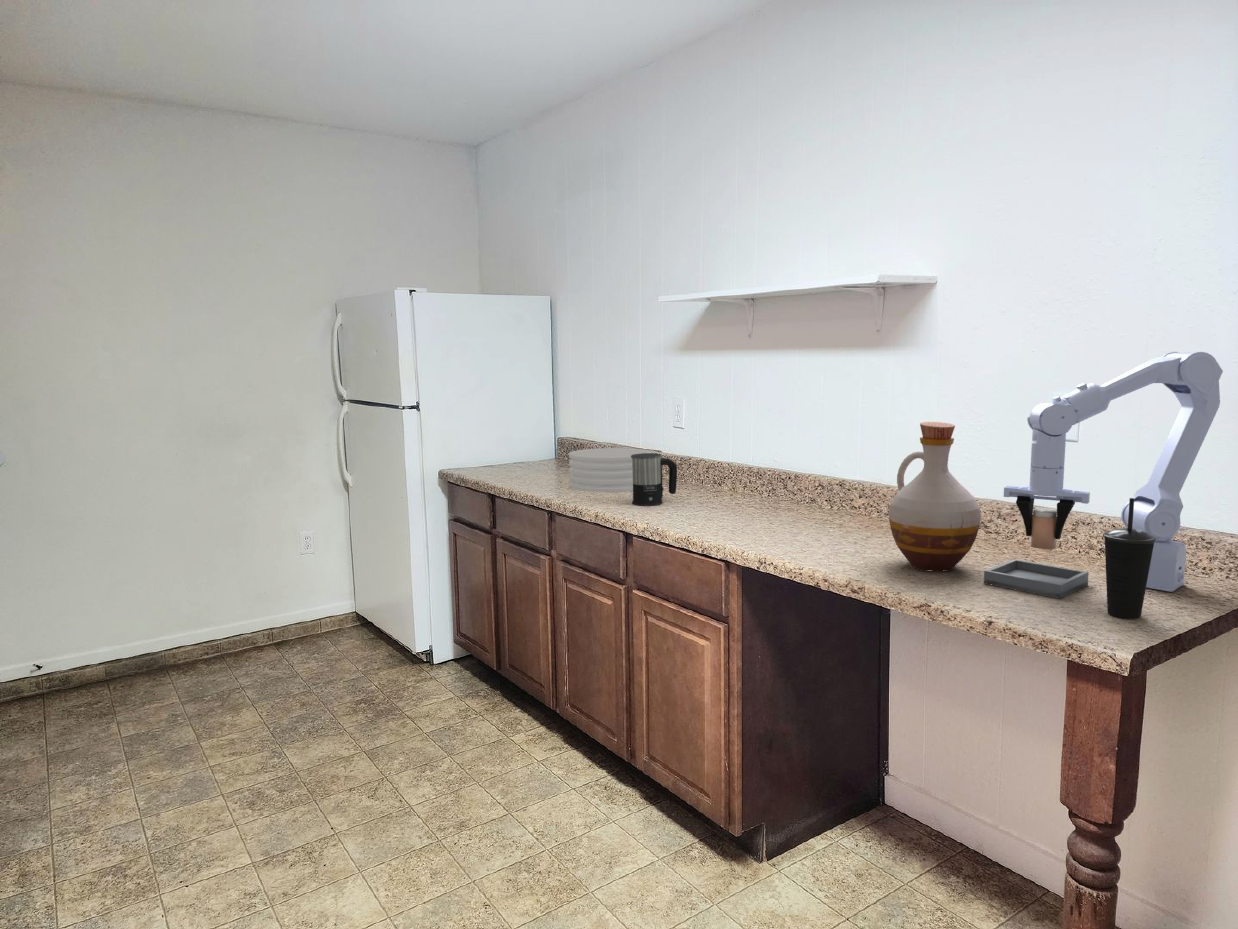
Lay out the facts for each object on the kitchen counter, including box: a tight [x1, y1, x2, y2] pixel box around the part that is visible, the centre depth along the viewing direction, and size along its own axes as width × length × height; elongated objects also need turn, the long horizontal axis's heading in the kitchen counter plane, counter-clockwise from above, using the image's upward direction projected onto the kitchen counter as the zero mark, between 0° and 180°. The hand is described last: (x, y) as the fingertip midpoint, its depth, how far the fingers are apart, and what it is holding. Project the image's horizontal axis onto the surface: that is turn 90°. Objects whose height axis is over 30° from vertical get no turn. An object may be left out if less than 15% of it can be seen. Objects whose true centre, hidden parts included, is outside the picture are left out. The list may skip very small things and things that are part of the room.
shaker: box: [1029, 508, 1057, 550], centre depth 160 cm, size 4×4×7 cm
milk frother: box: [631, 452, 678, 507], centre depth 254 cm, size 14×16×15 cm
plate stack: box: [568, 447, 652, 493], centre depth 285 cm, size 28×28×12 cm
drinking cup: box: [1102, 497, 1157, 620], centre depth 140 cm, size 8×8×20 cm
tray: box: [983, 558, 1089, 599], centre depth 160 cm, size 14×13×2 cm
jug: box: [888, 421, 982, 572], centre depth 173 cm, size 20×18×30 cm
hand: (1043, 536), depth 160 cm, fingers closed on shaker, 4 cm apart
